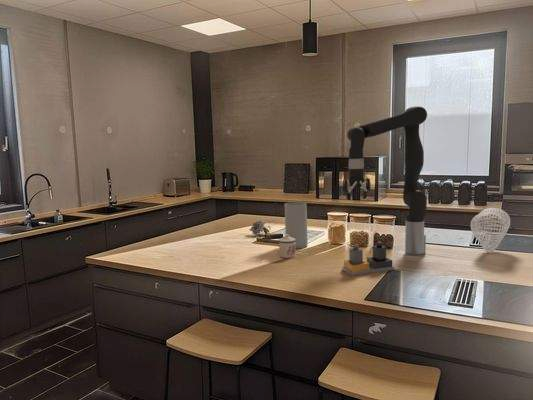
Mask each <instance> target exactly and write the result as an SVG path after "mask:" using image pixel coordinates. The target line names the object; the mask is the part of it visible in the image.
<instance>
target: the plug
mask: <svg viewBox="0 0 533 400" xmlns="http://www.w3.org/2000/svg"><path fill="white" fill-rule="evenodd" d="M359 246H360V245H359V244H357V243H355V244H352V247H351V248H349V249H348V250H349V252H348V253H349V257H348V258H349V260H350V263H351V264H353V265H354V264H362V263H363V260H364V257H363V256H364V255H363V249H362V248H359Z"/></svg>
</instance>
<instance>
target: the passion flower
mask: <svg viewBox="0 0 533 400" xmlns="http://www.w3.org/2000/svg"><path fill="white" fill-rule="evenodd" d="M265 224H266V222H263V223H262V220H261V219H259V220H258V221H255V222H253V223H252V226H251V227H250V229H249V230H248V231H249V232H252V235H254V237H256V236H257V235H258V236H259V235H260V234H261V233H262V234H264V235H265V234H270V229H271V226H270V225H267V226H265ZM267 227H268V228H269V229H268V228H267Z"/></svg>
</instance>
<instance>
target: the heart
mask: <svg viewBox="0 0 533 400" xmlns="http://www.w3.org/2000/svg"><path fill="white" fill-rule="evenodd" d="M510 226H511V217H510V215H509V214H508V212H506V211H505V210H503V209H501V208H498V207H489V208H486V209H485V208H484V209H482V210H481V211H480V212H479V213H478V214H475V216H474V217H472V219H471V221H470V229H471V232H472V235H473V236H474V238H475V239H476V240H477V241H478V243H479V244H480V245H481V247H482V249H484V251H485V252H486V253H487V254H491V253H493V252H494V251H495V250H496V249H497V248H498V246H499V245H500V243H501V242H502V240H503V239H504V237H505V236H506V234H507V232H508V230H509V229H510Z"/></svg>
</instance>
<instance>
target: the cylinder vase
mask: <svg viewBox="0 0 533 400" xmlns="http://www.w3.org/2000/svg"><path fill="white" fill-rule="evenodd" d="M284 228H285V229H284V230H285V235H286V234H288V235H289V236H290V237H292V238H295V240H296V247H295V250H301V249H305V248H307V247H308V245H309V244H308V243H309V242H308V210H307V203H306V202H302V201H294V202H293V201H292V202H291V201H290V202H286V203H284Z"/></svg>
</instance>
